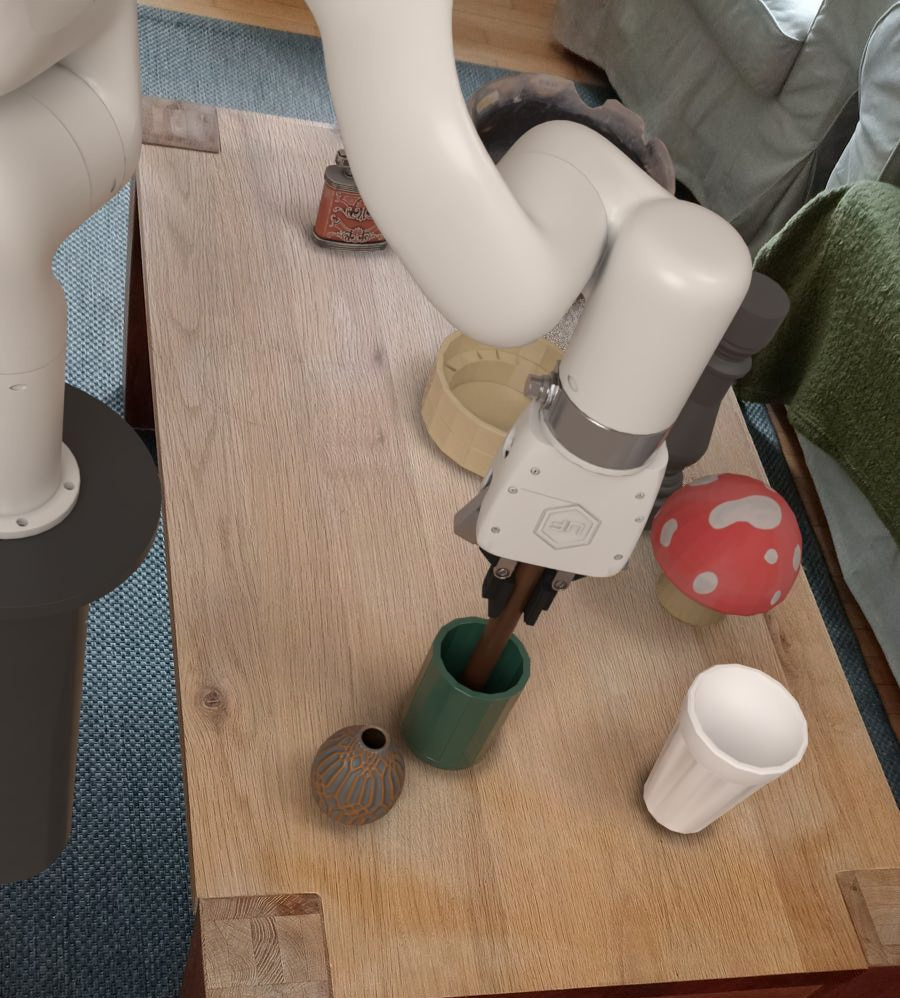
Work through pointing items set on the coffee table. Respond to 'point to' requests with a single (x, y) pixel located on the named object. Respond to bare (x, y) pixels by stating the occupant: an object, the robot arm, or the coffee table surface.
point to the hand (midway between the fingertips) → (510, 604)
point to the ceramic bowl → (547, 97)
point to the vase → (357, 774)
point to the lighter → (344, 213)
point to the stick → (500, 628)
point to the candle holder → (721, 380)
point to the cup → (724, 746)
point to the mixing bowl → (480, 395)
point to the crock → (460, 698)
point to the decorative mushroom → (725, 549)
